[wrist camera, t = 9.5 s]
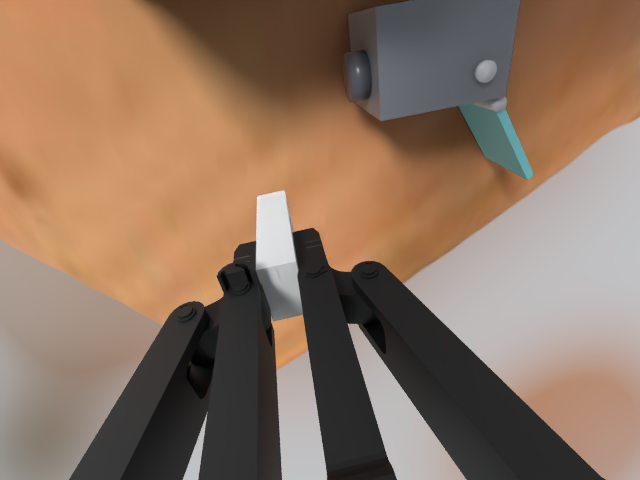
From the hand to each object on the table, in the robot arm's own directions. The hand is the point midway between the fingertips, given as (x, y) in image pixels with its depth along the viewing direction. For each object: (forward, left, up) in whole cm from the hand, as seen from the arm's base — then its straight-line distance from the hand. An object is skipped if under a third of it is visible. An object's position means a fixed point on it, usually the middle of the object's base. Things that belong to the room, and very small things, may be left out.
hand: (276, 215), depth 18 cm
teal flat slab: (+7, +29, -29) cm, 42 cm away
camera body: (-4, +19, -29) cm, 35 cm away
